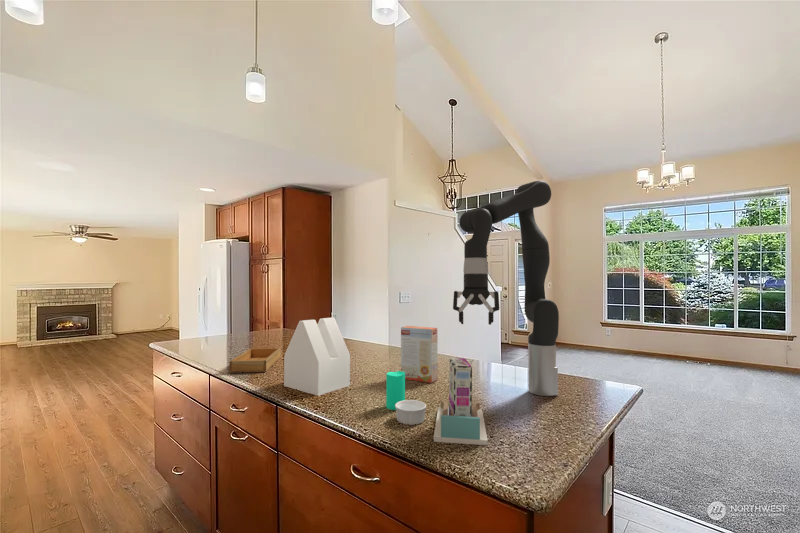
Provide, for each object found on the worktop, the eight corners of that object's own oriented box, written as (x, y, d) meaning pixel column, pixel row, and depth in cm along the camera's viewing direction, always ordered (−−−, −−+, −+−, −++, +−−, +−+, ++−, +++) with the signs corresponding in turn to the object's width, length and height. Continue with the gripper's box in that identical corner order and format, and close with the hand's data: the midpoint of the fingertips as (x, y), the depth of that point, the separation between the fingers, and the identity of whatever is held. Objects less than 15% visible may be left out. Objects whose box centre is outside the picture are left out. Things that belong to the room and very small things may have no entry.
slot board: (481, 412, 113) (481, 392, 113) (487, 445, 91) (487, 419, 91) (438, 410, 115) (438, 389, 115) (433, 441, 93) (433, 416, 93)
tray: (249, 359, 189) (249, 347, 189) (280, 358, 191) (280, 347, 191) (229, 374, 159) (229, 361, 159) (266, 373, 161) (266, 360, 161)
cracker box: (438, 380, 149) (438, 327, 150) (431, 383, 144) (431, 329, 145) (407, 375, 157) (407, 325, 157) (400, 378, 152) (400, 326, 152)
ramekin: (430, 424, 105) (430, 408, 105) (400, 427, 102) (400, 411, 102) (419, 413, 113) (420, 398, 113) (391, 416, 111) (391, 401, 111)
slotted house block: (349, 385, 142) (350, 319, 142) (318, 396, 129) (318, 323, 130) (315, 377, 153) (316, 316, 154) (283, 386, 141) (284, 319, 142)
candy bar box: (473, 430, 97) (472, 366, 98) (453, 430, 97) (453, 366, 98) (465, 414, 108) (465, 357, 109) (448, 414, 108) (448, 357, 109)
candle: (407, 404, 120) (407, 366, 121) (401, 410, 115) (401, 371, 115) (390, 402, 122) (390, 365, 123) (383, 408, 117) (383, 369, 117)
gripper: (497, 272, 122) (497, 323, 121) (453, 272, 124) (453, 322, 123) (500, 272, 114) (500, 326, 114) (452, 272, 116) (452, 325, 116)
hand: (475, 324), depth 118 cm, fingers open, 8 cm apart
